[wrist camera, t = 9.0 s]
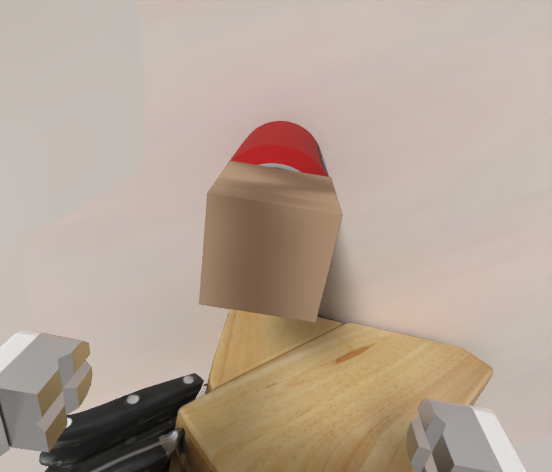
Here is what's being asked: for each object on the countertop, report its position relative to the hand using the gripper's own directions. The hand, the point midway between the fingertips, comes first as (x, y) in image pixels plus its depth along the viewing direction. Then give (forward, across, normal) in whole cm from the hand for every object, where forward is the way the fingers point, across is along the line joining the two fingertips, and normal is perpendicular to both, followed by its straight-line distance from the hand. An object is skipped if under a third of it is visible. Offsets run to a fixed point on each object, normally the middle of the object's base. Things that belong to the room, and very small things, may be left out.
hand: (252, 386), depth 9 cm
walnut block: (+11, 0, 0) cm, 11 cm away
